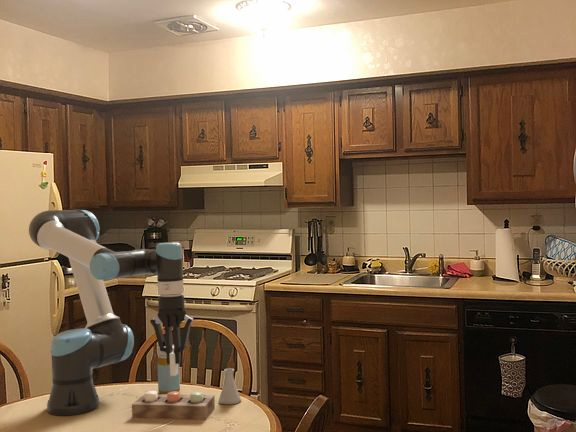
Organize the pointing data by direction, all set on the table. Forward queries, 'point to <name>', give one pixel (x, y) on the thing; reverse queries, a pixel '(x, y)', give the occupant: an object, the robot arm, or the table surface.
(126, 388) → the table surface
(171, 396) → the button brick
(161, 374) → the bottle
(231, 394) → the flask
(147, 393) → the button ivory
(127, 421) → the table surface
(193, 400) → the button sage
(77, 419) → the table surface
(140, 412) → the console
